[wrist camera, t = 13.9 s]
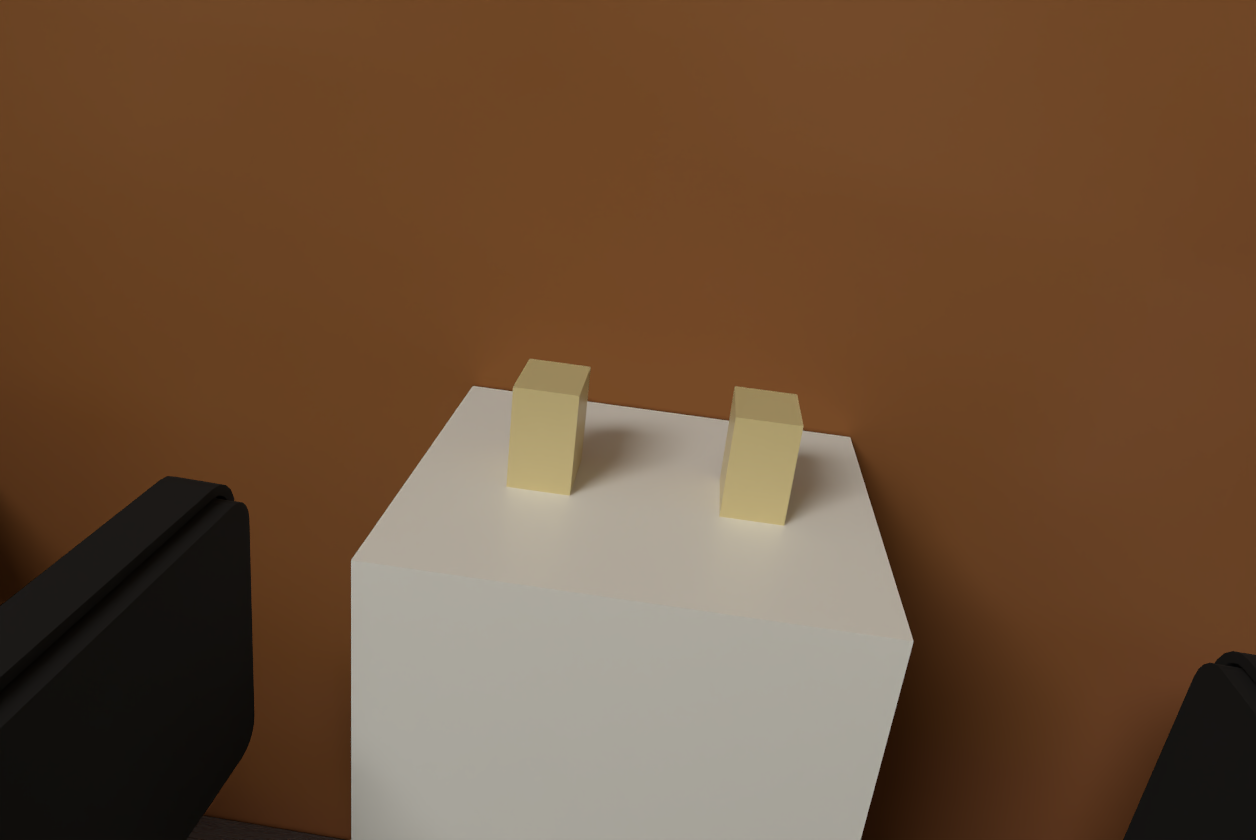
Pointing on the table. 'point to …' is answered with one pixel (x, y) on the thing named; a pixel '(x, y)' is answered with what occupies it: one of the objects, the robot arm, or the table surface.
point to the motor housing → (244, 831)
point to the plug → (623, 627)
